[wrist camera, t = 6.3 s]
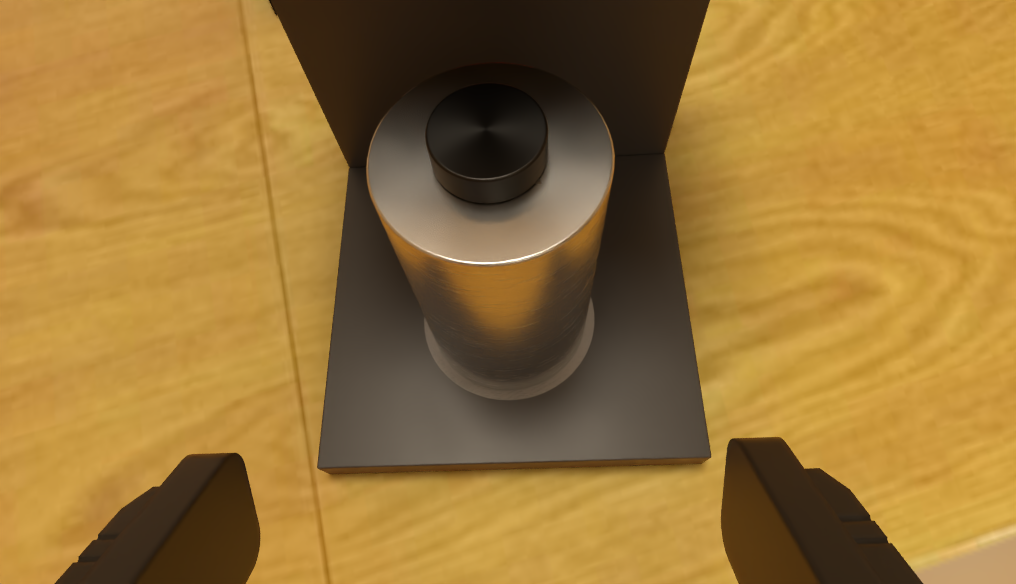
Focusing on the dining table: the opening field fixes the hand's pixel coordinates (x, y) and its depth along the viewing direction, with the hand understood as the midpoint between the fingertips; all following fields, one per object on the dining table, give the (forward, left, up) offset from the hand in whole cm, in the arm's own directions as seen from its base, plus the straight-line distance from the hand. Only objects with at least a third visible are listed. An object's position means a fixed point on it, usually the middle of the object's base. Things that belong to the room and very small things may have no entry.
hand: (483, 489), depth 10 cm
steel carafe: (+1, -8, -13) cm, 16 cm away
